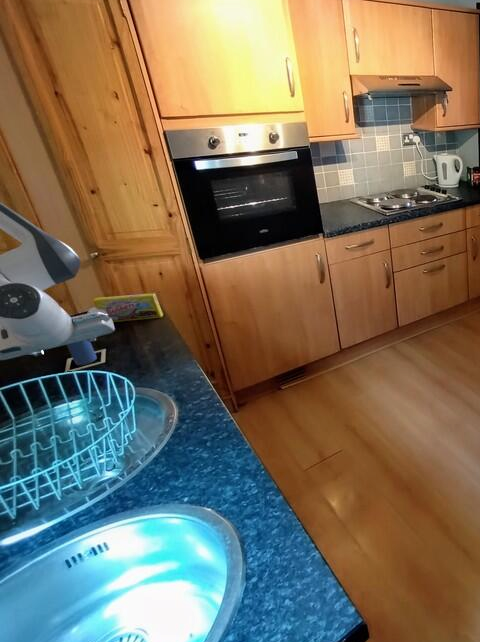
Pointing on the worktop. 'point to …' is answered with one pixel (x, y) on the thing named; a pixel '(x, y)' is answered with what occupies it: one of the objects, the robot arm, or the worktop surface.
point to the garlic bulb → (96, 310)
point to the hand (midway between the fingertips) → (66, 345)
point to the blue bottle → (82, 352)
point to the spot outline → (87, 365)
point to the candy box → (130, 307)
